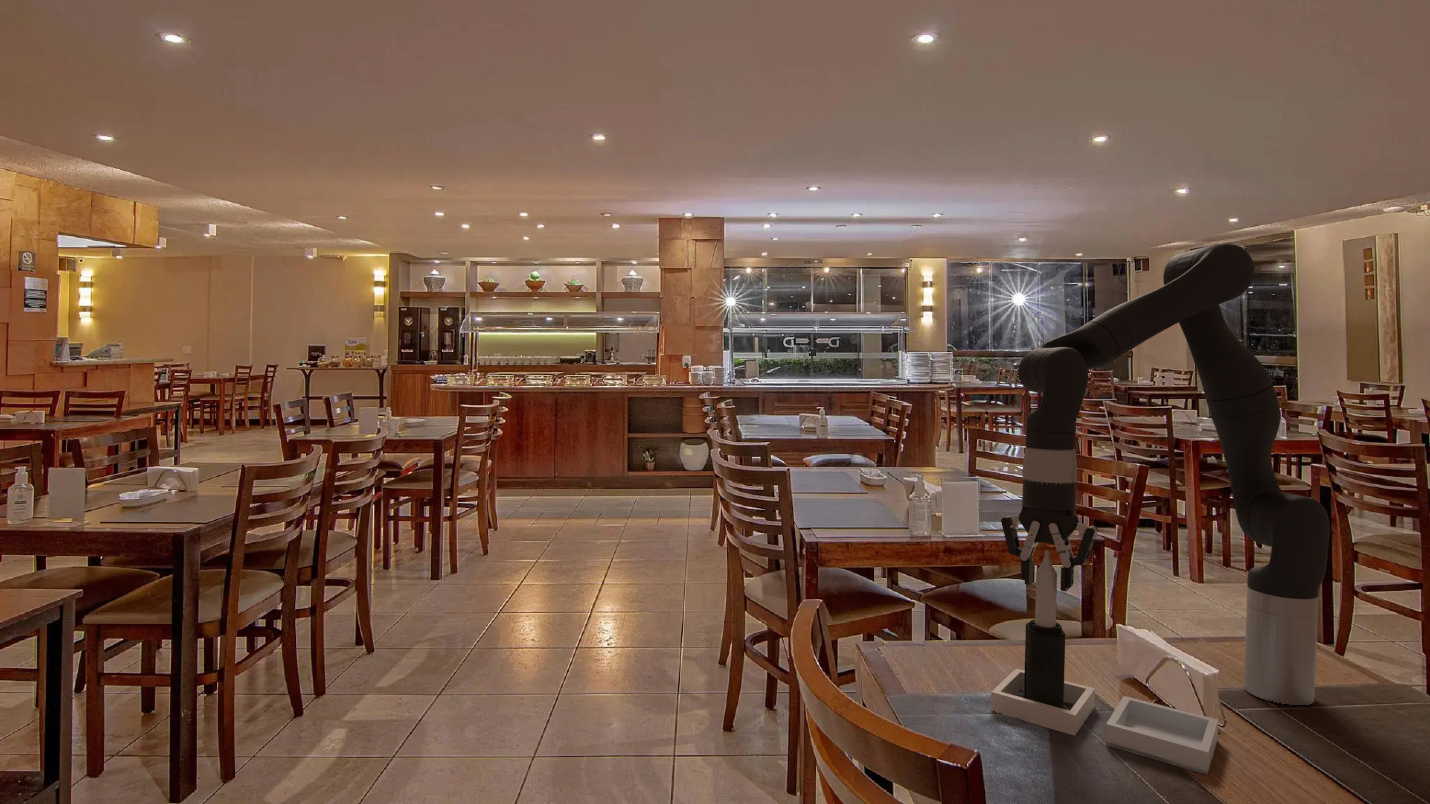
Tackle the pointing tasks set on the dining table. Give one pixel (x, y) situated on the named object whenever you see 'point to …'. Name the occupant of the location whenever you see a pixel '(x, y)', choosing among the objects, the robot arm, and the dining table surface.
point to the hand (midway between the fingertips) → (1046, 586)
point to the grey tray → (1163, 734)
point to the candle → (1045, 643)
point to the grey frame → (1044, 705)
